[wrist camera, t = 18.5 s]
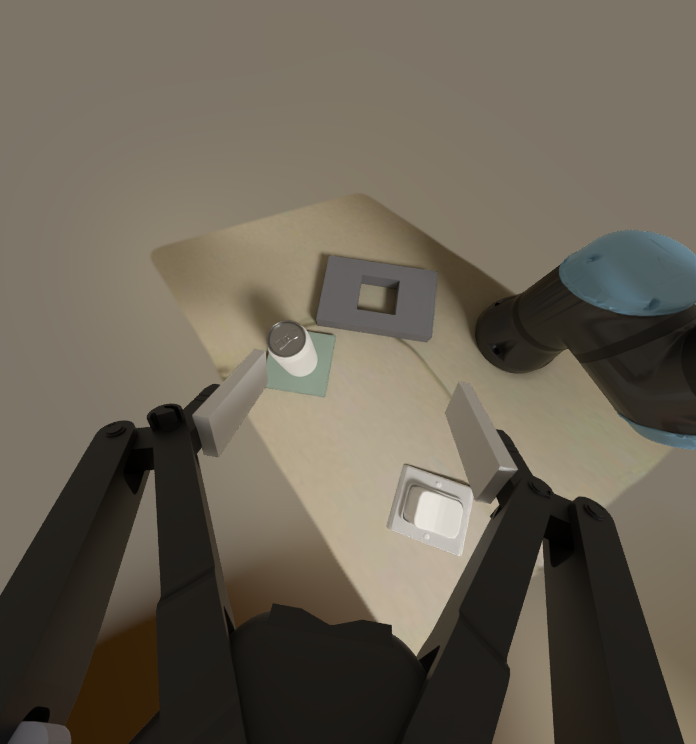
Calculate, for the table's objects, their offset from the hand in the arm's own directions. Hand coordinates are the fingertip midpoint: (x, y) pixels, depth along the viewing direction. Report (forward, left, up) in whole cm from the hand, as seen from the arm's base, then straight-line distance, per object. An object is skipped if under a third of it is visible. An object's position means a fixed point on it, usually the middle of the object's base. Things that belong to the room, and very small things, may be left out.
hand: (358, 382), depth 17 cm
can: (+11, -8, -29) cm, 32 cm away
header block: (-2, -23, -30) cm, 37 cm away
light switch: (-16, +14, -30) cm, 37 cm away
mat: (+11, -8, -29) cm, 32 cm away
